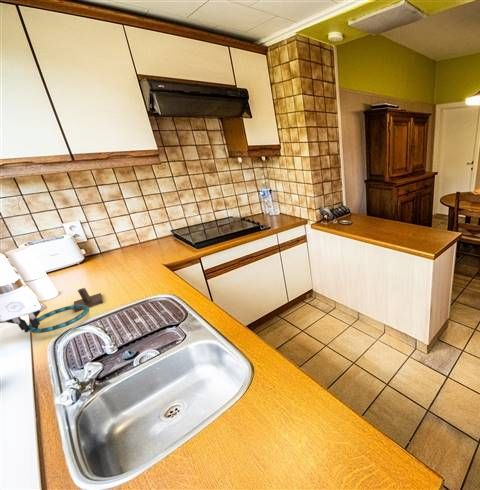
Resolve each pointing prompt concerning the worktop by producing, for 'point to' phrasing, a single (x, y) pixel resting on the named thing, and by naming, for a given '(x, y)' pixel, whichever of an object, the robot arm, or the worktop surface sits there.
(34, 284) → the cylindrical container
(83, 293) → the stand
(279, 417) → the worktop surface
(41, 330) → the ring
